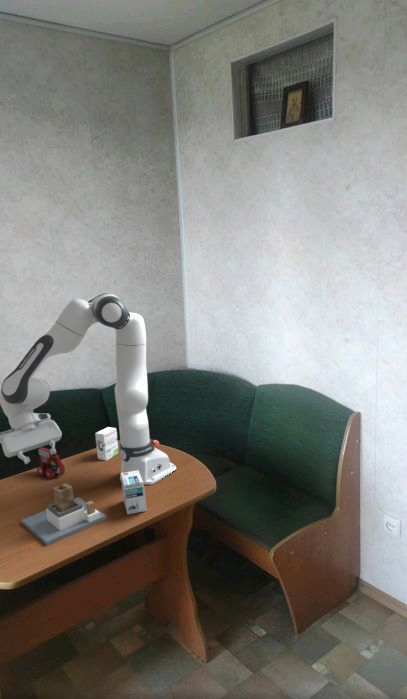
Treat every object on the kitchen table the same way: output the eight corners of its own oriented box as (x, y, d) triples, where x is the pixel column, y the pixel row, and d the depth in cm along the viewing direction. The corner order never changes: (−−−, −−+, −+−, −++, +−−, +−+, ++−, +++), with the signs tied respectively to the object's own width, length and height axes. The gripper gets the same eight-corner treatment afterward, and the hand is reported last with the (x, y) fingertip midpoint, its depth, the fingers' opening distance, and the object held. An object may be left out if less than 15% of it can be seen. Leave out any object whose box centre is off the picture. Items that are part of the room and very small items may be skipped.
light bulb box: (147, 511, 179) (144, 481, 177) (127, 515, 177) (124, 485, 175) (141, 497, 189) (139, 469, 187) (122, 501, 188) (120, 472, 185)
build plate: (78, 500, 190) (76, 483, 188) (106, 519, 176) (104, 500, 174) (21, 523, 176) (19, 504, 175) (47, 545, 162) (44, 525, 161)
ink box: (110, 451, 232) (107, 426, 230) (119, 453, 230) (116, 427, 228) (97, 459, 225) (94, 432, 223) (106, 461, 223) (103, 434, 220)
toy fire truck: (55, 481, 207) (52, 455, 205) (35, 474, 214) (31, 450, 212) (69, 474, 212) (66, 449, 210) (49, 467, 220) (46, 444, 217)
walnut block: (68, 503, 177) (65, 480, 175) (74, 508, 173) (72, 484, 172) (55, 509, 174) (52, 485, 172) (62, 513, 170) (59, 489, 169)
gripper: (-3, 429, 178) (13, 464, 173) (53, 412, 191) (70, 444, 186) (-6, 438, 183) (10, 472, 177) (49, 421, 196) (65, 452, 190)
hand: (41, 458), depth 182 cm, fingers open, 8 cm apart
